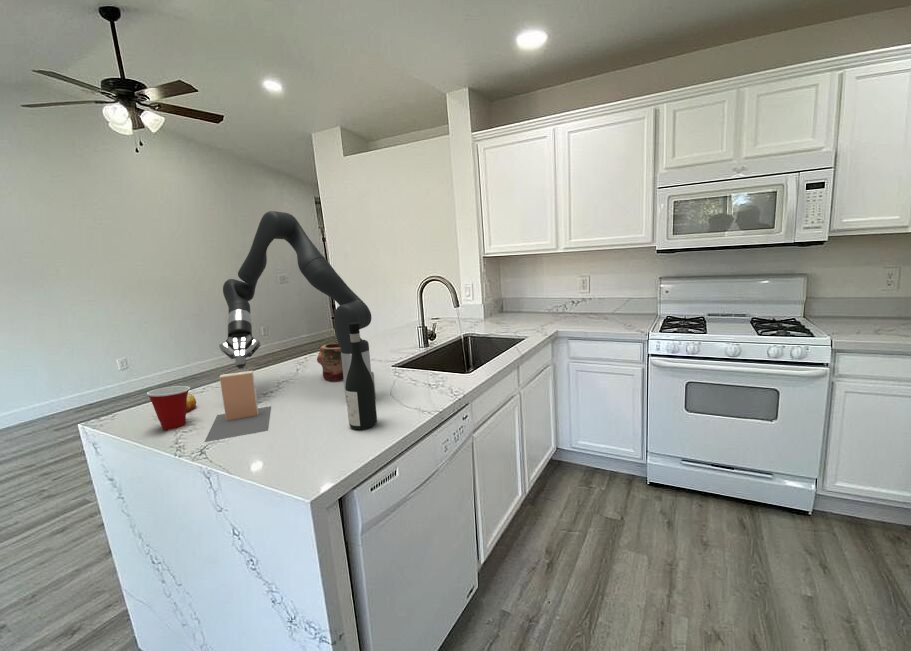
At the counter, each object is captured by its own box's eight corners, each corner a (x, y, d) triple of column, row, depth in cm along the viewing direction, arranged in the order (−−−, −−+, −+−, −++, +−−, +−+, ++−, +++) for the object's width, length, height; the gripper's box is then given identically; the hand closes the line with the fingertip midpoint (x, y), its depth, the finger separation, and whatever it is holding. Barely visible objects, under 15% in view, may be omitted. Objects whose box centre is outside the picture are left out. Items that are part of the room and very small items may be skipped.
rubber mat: (217, 416, 136) (217, 414, 136) (271, 407, 141) (271, 406, 141) (204, 443, 115) (204, 441, 115) (268, 432, 121) (268, 430, 121)
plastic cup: (203, 422, 131) (197, 385, 129) (168, 436, 122) (161, 396, 120) (181, 418, 136) (175, 382, 134) (145, 431, 126) (138, 393, 124)
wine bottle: (353, 433, 117) (342, 326, 112) (346, 423, 124) (336, 323, 119) (381, 426, 121) (372, 322, 116) (373, 417, 128) (364, 319, 123)
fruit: (204, 408, 143) (193, 388, 140) (171, 427, 136) (159, 407, 133) (193, 401, 150) (182, 382, 147) (162, 418, 143) (149, 399, 140)
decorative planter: (369, 375, 174) (366, 342, 171) (353, 384, 162) (349, 349, 160) (328, 373, 180) (325, 341, 178) (310, 381, 169) (306, 347, 167)
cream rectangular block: (227, 418, 132) (220, 374, 130) (258, 412, 136) (252, 370, 133) (226, 421, 130) (219, 377, 127) (258, 415, 133) (252, 372, 131)
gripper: (216, 321, 144) (215, 364, 135) (258, 317, 148) (260, 358, 139) (220, 333, 150) (220, 376, 140) (261, 329, 154) (264, 370, 145)
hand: (240, 367), depth 140 cm, fingers closed
